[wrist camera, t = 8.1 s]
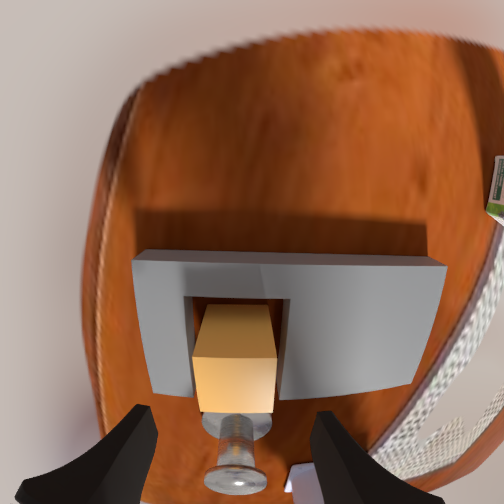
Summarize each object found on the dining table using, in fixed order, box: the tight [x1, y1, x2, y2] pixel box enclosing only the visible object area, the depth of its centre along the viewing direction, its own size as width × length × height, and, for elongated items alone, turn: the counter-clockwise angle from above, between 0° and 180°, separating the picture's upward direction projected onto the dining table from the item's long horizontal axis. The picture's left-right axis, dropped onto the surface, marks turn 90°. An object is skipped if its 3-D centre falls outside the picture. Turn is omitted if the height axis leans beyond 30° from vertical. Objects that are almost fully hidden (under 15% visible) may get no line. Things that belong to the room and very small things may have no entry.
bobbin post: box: [202, 412, 272, 495], centre depth 17 cm, size 6×6×7 cm
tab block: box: [192, 304, 277, 413], centre depth 15 cm, size 4×4×6 cm
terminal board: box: [131, 249, 448, 400], centre depth 17 cm, size 20×10×2 cm, turn 88°
